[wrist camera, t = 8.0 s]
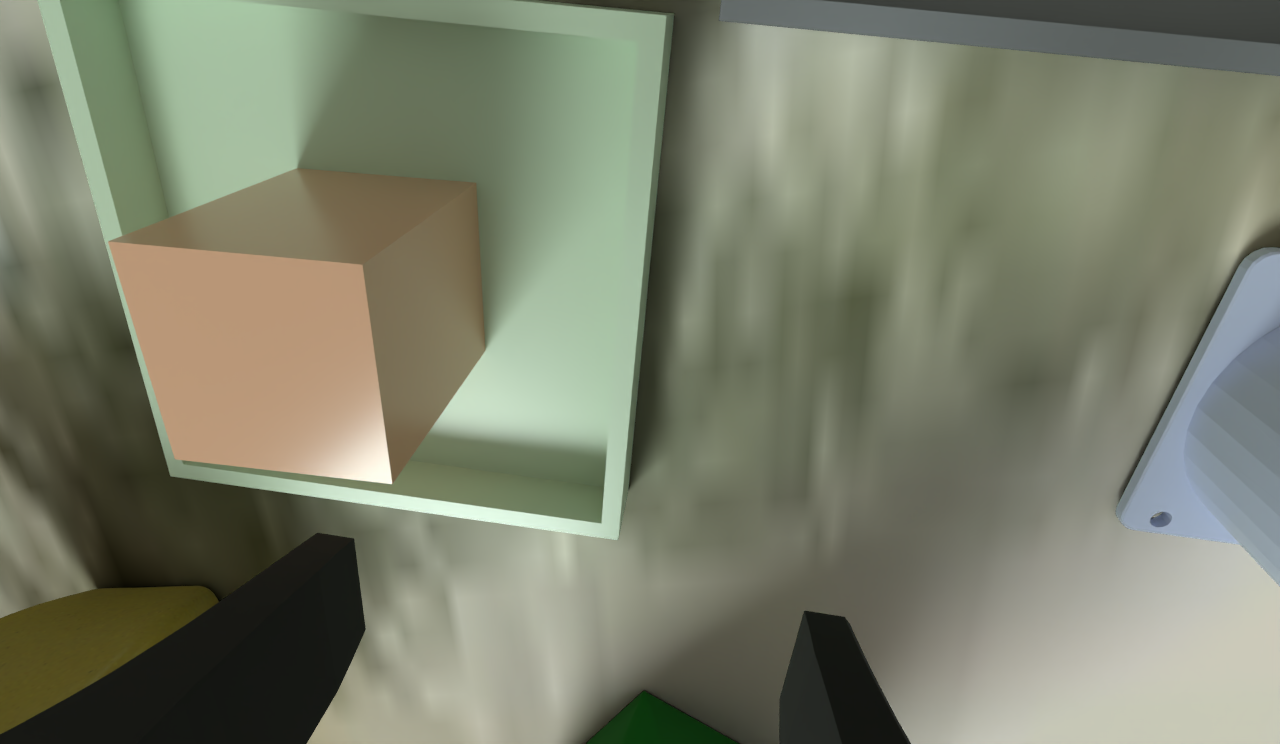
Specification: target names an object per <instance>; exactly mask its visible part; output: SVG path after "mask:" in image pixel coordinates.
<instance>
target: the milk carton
mask: <svg viewBox="0 0 1280 744" xmlns="http://www.w3.org/2000/svg"><path fill="white" fill-rule="evenodd" d="M586 744H739V743H737V742H735V741H733V740H732V739H730V738H728V737H726V736H724V735H723V734H721V733H719V732H717V731H715V730H714V729H712V728H710V727H708V726H706V725H705V724H703V723H701V722H699V721H697V720H696V719H694V718H692V717H690V716H688V715H687V714H685V713H683V712H681V711H679V710H678V709H676V708H674V707H672V706H670V705H669V704H667V703H665V702H663V701H661V700H660V699H658V698H656V697H654V696H652V695H651V694H649V693H647V692H646V691H643V692H642V693H641V694H640V695H638V696H637V697H636V698H635V699H634V700H633V701H632V702H631V703H630V704H629V705H628V706H626V707H625V708H624V709H623V710H622V711H621V712H620V713H619V714H618V715H617V716H615V717H614V718H613V719H612V720H611V721H610V722H609V723H608V724H607V725H606V726H604V727H603V728H602V729H601V730H600V731H599V732H598V733H597V734H596V735H595V736H594V737H592V738H591V739H590V740H589V741H588V742H587V743H586Z"/></svg>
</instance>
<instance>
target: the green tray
mask: <svg viewBox="0 0 1280 744" xmlns="http://www.w3.org/2000/svg"><path fill="white" fill-rule="evenodd" d="M37 1H38V4H39V8H40V11H41V15H42V18H43V22H44V26H45V29H46V33H47V36H48V40H49V43H50V47H51V51H52V54H53V58H54V61H55V65H56V69H57V72H58V76H59V79H60V83H61V86H62V90H63V94H64V97H65V101H66V104H67V108H68V112H69V115H70V119H71V122H72V126H73V129H74V133H75V137H76V140H77V144H78V147H79V151H80V154H81V158H82V162H83V165H84V169H85V172H86V176H87V180H88V183H89V187H90V190H91V194H92V197H93V201H94V205H95V208H96V212H97V215H98V219H99V222H100V226H101V230H102V233H103V237H104V240H105V244H106V248H107V251H108V255H109V258H110V262H111V265H112V269H113V273H114V276H115V280H116V283H117V287H118V291H119V294H120V298H121V301H122V305H123V308H124V312H125V316H126V319H127V323H128V326H129V330H130V333H131V337H132V341H133V344H134V348H135V351H136V355H137V359H138V362H139V366H140V369H141V373H142V376H143V380H144V384H145V387H146V391H147V394H148V398H149V401H150V405H151V409H152V412H153V416H154V419H155V423H156V427H157V430H158V434H159V437H160V441H161V444H162V448H163V452H164V455H165V459H166V462H167V466H168V469H169V473H170V476H172V477H179V478H186V479H193V480H200V481H207V482H214V483H221V484H228V485H235V486H242V487H249V488H256V489H263V490H270V491H277V492H284V493H291V494H298V495H305V496H312V497H319V498H326V499H333V500H340V501H347V502H354V503H361V504H368V505H375V506H382V507H389V508H396V509H403V510H410V511H417V512H424V513H431V514H438V515H445V516H452V517H459V518H466V519H473V520H480V521H487V522H494V523H501V524H508V525H515V526H522V527H529V528H536V529H543V530H550V531H557V532H564V533H571V534H578V535H585V536H592V537H599V538H606V539H613V540H618V539H619V534H620V529H621V524H622V520H623V515H624V510H625V505H626V500H627V495H628V489H629V479H630V469H631V458H632V448H633V438H634V427H635V417H636V407H637V396H638V386H639V375H640V365H641V355H642V344H643V334H644V324H645V313H646V303H647V292H648V282H649V272H650V261H651V251H652V241H653V230H654V220H655V210H656V199H657V189H658V178H659V168H660V158H661V147H662V137H663V127H664V116H665V106H666V96H667V85H668V75H669V64H670V54H671V44H672V33H673V23H674V14H673V13H663V12H653V11H643V10H632V9H622V8H612V7H602V6H592V5H581V4H571V3H561V2H551V1H541V0H37ZM296 168H302V169H314V170H326V171H339V172H351V173H363V174H376V175H388V176H400V177H413V178H425V179H437V180H450V181H462V182H474V183H476V186H477V204H478V223H479V241H480V259H481V277H482V296H483V314H484V332H485V352H484V354H483V355H482V356H481V358H480V359H479V361H478V362H477V364H476V365H475V366H474V368H473V369H472V371H471V372H470V374H469V375H468V377H467V378H466V379H465V381H464V382H463V384H462V385H461V387H460V388H459V389H458V391H457V392H456V394H455V395H454V397H453V398H452V399H451V401H450V402H449V404H448V405H447V407H446V408H445V410H444V411H443V412H442V414H441V415H440V417H439V418H438V420H437V421H436V422H435V424H434V425H433V427H432V428H431V430H430V431H429V432H428V434H427V435H426V437H425V438H424V440H423V441H422V442H421V444H420V445H419V447H418V448H417V450H416V451H415V453H414V454H413V455H412V457H411V458H410V460H409V461H408V463H407V464H406V465H405V467H404V468H403V470H402V471H401V473H400V474H399V475H398V477H397V478H396V480H395V481H394V483H393V484H386V483H378V482H369V481H360V480H351V479H343V478H334V477H325V476H316V475H308V474H299V473H290V472H281V471H273V470H264V469H255V468H246V467H238V466H229V465H220V464H211V463H203V462H194V461H185V460H176V459H175V458H174V455H173V452H172V448H171V445H170V442H169V439H168V435H167V432H166V429H165V426H164V422H163V419H162V416H161V413H160V409H159V406H158V403H157V400H156V396H155V393H154V390H153V387H152V383H151V380H150V377H149V374H148V370H147V367H146V364H145V361H144V357H143V354H142V351H141V348H140V344H139V341H138V338H137V335H136V331H135V328H134V325H133V322H132V318H131V315H130V312H129V309H128V305H127V302H126V299H125V296H124V292H123V289H122V286H121V283H120V279H119V276H118V273H117V270H116V266H115V263H114V260H113V257H112V253H111V250H110V247H109V244H108V241H110V240H113V239H116V238H118V237H121V236H123V235H126V234H128V233H131V232H134V231H136V230H139V229H141V228H144V227H147V226H149V225H152V224H154V223H157V222H159V221H162V220H165V219H167V218H170V217H172V216H175V215H177V214H180V213H183V212H185V211H188V210H190V209H193V208H195V207H198V206H201V205H203V204H206V203H208V202H211V201H213V200H216V199H219V198H221V197H224V196H226V195H229V194H232V193H234V192H237V191H239V190H242V189H244V188H247V187H250V186H252V185H255V184H257V183H260V182H262V181H265V180H268V179H270V178H273V177H275V176H278V175H280V174H283V173H286V172H288V171H291V170H293V169H296Z"/></svg>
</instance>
